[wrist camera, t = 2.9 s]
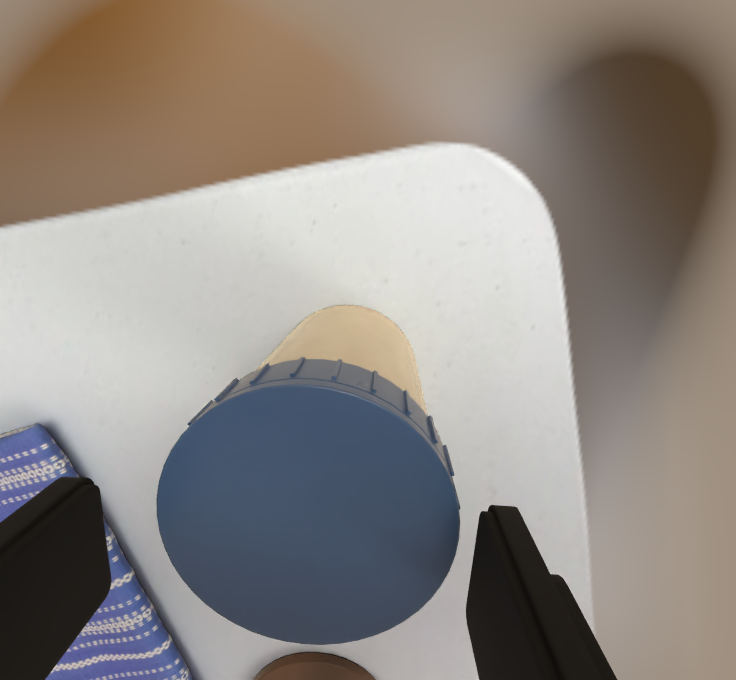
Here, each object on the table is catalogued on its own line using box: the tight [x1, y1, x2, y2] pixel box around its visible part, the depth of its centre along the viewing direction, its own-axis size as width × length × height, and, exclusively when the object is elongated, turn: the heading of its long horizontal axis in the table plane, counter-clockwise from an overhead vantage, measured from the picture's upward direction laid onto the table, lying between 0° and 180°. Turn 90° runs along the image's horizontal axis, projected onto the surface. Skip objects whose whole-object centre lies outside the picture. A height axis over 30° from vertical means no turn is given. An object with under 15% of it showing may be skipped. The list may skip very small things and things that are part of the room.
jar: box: [257, 305, 428, 416], centre depth 15 cm, size 7×7×11 cm
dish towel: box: [0, 423, 193, 680], centre depth 24 cm, size 17×24×3 cm
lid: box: [157, 357, 460, 645], centre depth 11 cm, size 7×7×2 cm
